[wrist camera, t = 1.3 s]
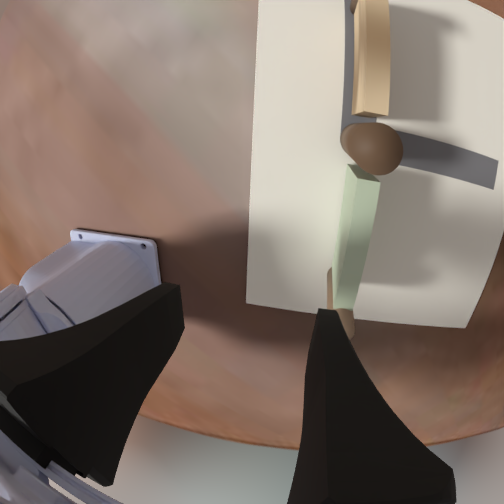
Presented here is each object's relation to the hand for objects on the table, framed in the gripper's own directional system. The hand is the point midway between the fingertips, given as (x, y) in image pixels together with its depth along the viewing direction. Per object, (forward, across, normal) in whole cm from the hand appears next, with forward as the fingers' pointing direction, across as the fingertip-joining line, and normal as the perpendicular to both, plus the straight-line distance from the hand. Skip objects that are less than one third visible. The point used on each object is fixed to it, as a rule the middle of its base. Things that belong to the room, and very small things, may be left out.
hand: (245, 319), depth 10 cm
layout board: (+9, -7, -6) cm, 13 cm away
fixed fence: (+9, -4, -10) cm, 14 cm away
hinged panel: (+9, -4, -1) cm, 10 cm away
